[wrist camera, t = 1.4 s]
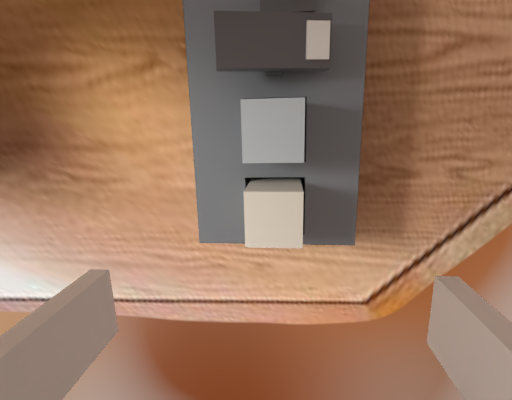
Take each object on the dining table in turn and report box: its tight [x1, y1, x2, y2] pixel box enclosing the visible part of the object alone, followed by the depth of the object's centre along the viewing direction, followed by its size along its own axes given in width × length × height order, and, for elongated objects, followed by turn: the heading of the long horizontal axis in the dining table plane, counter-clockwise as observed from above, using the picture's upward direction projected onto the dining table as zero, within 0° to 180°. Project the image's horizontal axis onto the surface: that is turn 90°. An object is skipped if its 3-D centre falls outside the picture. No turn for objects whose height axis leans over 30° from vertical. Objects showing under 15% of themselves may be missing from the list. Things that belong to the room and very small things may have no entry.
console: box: [183, 0, 370, 245], centre depth 26 cm, size 14×24×6 cm, turn 1°
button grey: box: [240, 97, 305, 163], centre depth 24 cm, size 4×4×6 cm
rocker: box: [214, 11, 332, 72], centre depth 21 cm, size 8×4×2 cm, turn 91°
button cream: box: [243, 178, 304, 248], centre depth 25 cm, size 4×4×6 cm
